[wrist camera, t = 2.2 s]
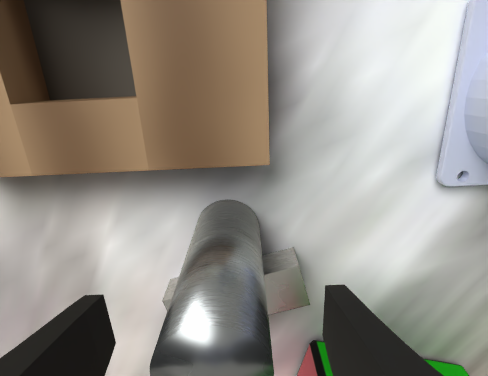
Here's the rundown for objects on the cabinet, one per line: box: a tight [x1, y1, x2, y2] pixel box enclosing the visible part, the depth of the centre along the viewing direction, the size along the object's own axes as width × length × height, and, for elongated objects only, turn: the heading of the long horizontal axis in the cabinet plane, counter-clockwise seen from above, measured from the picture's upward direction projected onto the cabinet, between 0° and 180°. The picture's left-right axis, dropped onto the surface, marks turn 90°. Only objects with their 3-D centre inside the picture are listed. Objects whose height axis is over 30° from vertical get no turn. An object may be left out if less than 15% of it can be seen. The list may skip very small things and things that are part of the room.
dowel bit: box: [150, 200, 274, 376], centre depth 11 cm, size 3×3×8 cm
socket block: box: [0, 0, 270, 177], centre depth 11 cm, size 14×10×2 cm
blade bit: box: [163, 247, 310, 315], centre depth 16 cm, size 7×2×2 cm, turn 107°
